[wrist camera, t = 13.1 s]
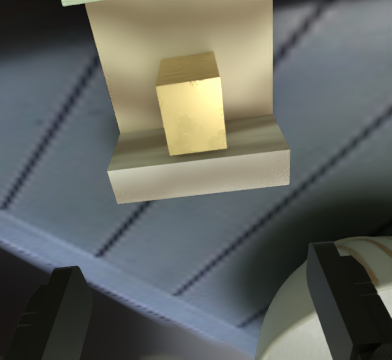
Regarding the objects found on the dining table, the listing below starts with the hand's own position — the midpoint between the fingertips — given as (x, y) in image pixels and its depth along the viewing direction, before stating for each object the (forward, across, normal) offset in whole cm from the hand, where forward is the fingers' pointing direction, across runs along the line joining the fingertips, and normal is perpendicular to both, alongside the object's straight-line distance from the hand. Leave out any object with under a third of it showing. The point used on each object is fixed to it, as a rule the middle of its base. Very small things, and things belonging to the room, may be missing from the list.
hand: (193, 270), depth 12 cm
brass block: (+19, 0, 0) cm, 19 cm away
